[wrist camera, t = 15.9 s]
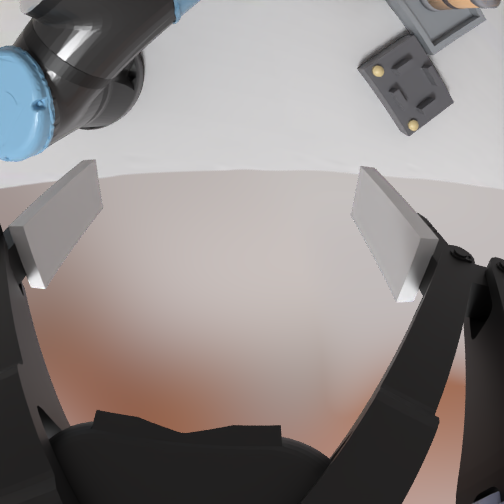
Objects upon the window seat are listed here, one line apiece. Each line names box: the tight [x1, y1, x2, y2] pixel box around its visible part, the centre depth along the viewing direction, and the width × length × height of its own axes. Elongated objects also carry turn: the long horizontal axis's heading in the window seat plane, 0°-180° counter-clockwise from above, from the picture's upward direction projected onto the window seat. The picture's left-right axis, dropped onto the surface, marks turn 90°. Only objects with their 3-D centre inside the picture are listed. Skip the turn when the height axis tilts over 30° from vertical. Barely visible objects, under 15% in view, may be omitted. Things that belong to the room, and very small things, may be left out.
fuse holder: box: [357, 35, 454, 136], centre depth 37 cm, size 12×10×5 cm
